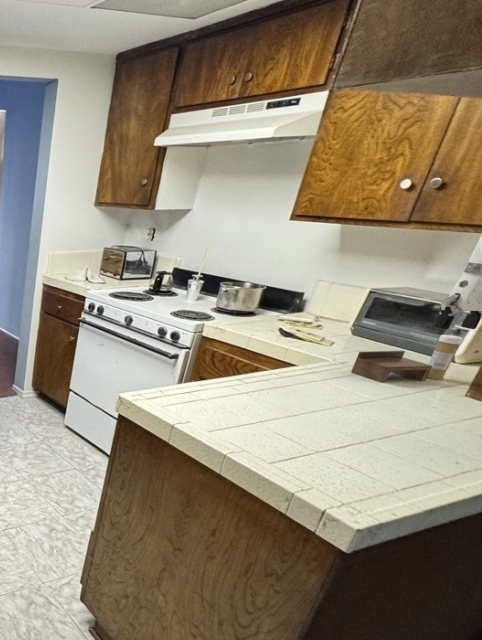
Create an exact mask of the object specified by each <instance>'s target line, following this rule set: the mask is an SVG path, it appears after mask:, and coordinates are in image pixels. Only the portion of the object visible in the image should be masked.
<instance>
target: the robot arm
mask: <svg viewBox="0 0 482 640" xmlns="http://www.w3.org/2000/svg"><path fill="white" fill-rule="evenodd" d="M460 310H462V311H465V312H469V313H466V316H465V318H464V319H463V322H462V324H461V325H460V326H461V328H465V329H470V330H476V329H477V327H478V326H479V324H480V322H481V319H482V234H481V235H480V237H479V239H478V241H477V243H476V245H475V247H474V249H473V252H472V254H471V255H470V257H469V259H468V262H467V264H466V266H465V267H464V270H463V272H462V274H461V276H460V277H459V278H458V280H457V282H456V283H455V285H454V286H453V288H452V289H451V291H450V293H449V295H448V297H446V298H443V299H441V301H440V307H439V316H438V318H437V320H436V322H435V324H434V328H437V329H442V330H449V329H450V327H451V326H452V324H453V321H454V319H455V318H456V317H455V316H454V315H455V314H457V313H458V312H459V311H460Z"/></svg>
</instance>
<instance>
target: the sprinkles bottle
mask: <svg viewBox="0 0 482 640" xmlns="http://www.w3.org/2000/svg"><path fill="white" fill-rule="evenodd" d="M463 340H464V338H463V337H462V336H458V335H453V334H441V335H440V336H439V339H438V343H437V344H436V347H435V349H434V350H433V353H432V355H431V357H430V359H429V361H428V363H427V364H428V365H432V368H431V370H430V372H429V374H428V376H427V378H428V379H431V380H440V381H441V380H444V377H445V375H446V373H447V371H448V369H449V368H450V366H451V363H452V362H453V359H454V356H455V354H456V353H457V350H458V347H459V346H460V345H461V344H462V342H463ZM427 378H426V379H427Z"/></svg>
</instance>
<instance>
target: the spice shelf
mask: <svg viewBox="0 0 482 640" xmlns="http://www.w3.org/2000/svg"><path fill="white" fill-rule="evenodd" d="M405 352H406V351H405V350H370V351H359V352H358V355H357V356H356V359H355V361H354V364H353V366H352V368H351V371H350V373H351V372H352V373H351V374H354V373H355V375H357V376H360V377H364V378H367V379H369V380H373V381H376V382H379V383H386V382H387V379H388V377H389V376H390V373H393V374H397V375H400V376H403V377H407V378H410V379H413V380H415V381H419V382H425V381H426V380H427V376H428V374H429V372H430V370H431V368H432V365H428V363H424V362H421V361H417V360H413V359H410V358H406V357H404V355H405V354H406V353H405Z"/></svg>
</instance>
